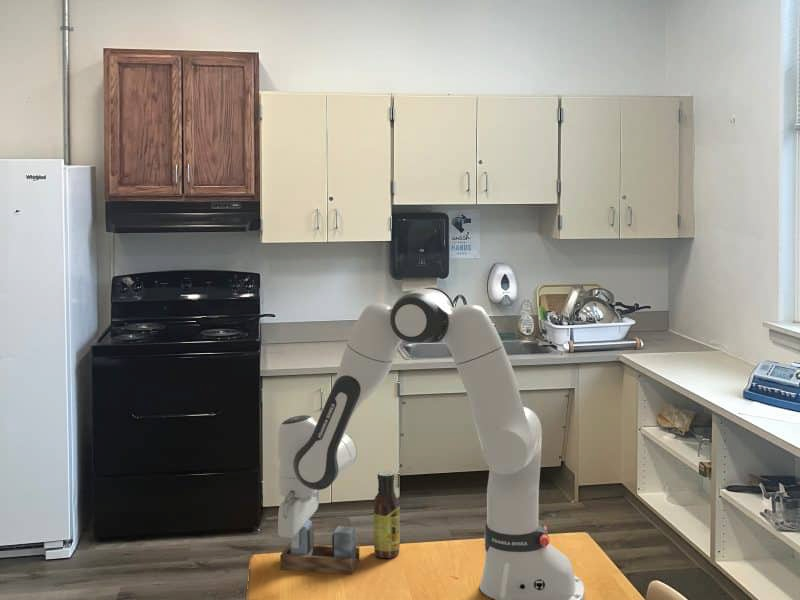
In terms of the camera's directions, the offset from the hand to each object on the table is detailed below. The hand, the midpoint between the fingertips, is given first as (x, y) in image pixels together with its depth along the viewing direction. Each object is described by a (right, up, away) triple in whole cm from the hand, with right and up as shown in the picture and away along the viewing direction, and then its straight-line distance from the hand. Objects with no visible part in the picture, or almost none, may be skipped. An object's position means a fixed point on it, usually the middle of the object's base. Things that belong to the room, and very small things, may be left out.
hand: (299, 542), depth 205 cm
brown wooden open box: (+5, -5, 0) cm, 7 cm away
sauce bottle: (+20, -5, +6) cm, 22 cm away
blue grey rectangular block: (0, -3, 0) cm, 3 cm away
